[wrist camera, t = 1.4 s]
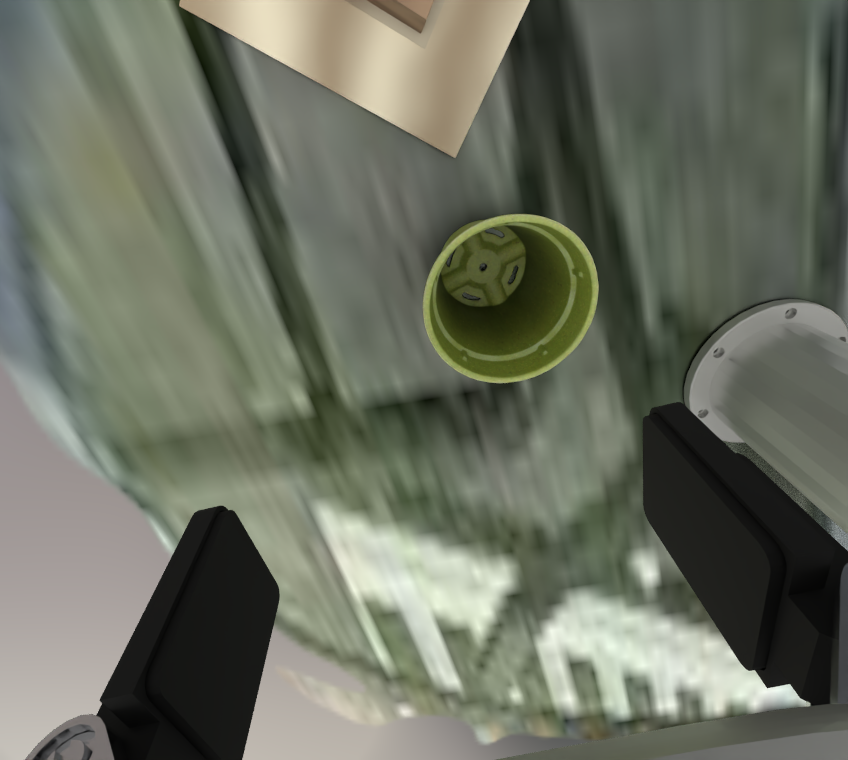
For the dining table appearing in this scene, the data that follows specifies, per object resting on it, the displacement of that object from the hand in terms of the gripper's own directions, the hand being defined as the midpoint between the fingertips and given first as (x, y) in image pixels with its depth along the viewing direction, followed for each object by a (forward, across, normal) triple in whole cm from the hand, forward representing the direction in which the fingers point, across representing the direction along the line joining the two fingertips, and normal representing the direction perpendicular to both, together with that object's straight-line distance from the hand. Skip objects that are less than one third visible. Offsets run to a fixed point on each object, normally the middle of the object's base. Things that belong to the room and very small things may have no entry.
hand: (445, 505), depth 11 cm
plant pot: (+24, -5, +2) cm, 25 cm away
